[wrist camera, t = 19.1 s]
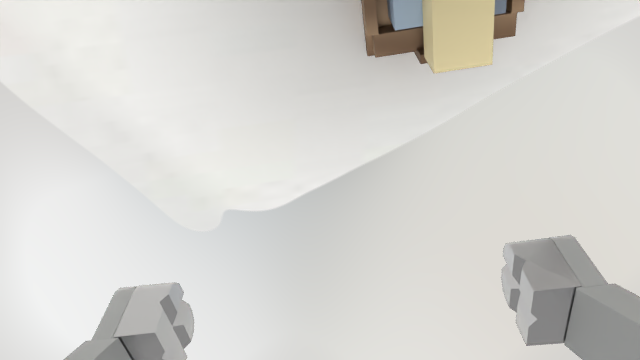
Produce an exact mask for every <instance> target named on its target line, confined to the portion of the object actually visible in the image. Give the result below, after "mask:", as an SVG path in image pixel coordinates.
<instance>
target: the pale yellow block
mask: <svg viewBox="0 0 640 360" xmlns="http://www.w3.org/2000/svg"><path fill="white" fill-rule="evenodd" d="M422 11H423V37H424V57H425V59H426V61H427V63H428V64H429V66H430V68H431V69H432V71H433V73H440V72H447V71H453V70H460V69H466V68H473V67H479V66H486V65H492V57H493V34H494V12H495V0H422Z"/></svg>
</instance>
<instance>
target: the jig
mask: <svg viewBox="0 0 640 360" xmlns="http://www.w3.org/2000/svg"><path fill="white" fill-rule="evenodd" d="M362 10H363V20H364V29H365V39H366V49H367V55H368V56H373V55H375V57H382V56H388V55H395V54H401V53H408V52H415V54H416V56H417V58H418V60H419V62H420V64H424V63H427V61H426V59H425V57H424V37H423V26H420V27H414V28H408V29H401V30H395V29H394V27H393V25H392V23H391V21H390V19H389V17H388V6H387V0H362ZM523 11H524V0H507V2H506V13H503V14H496V15H494V34H493V39H498V38H505V37H511V36H515V31H516V17H517V12H523Z"/></svg>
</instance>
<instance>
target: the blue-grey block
mask: <svg viewBox="0 0 640 360" xmlns="http://www.w3.org/2000/svg"><path fill="white" fill-rule="evenodd" d="M506 2H507V0H495V12H494V15H496V14H503V13H506ZM387 6H388V17H389V19H390V21H391V23H392V25H393V27H394V29H395V30H401V29H408V28H414V27H420V26H423V11H422V0H387Z"/></svg>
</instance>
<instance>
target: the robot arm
mask: <svg viewBox="0 0 640 360" xmlns="http://www.w3.org/2000/svg"><path fill="white" fill-rule="evenodd" d="M503 256H504V259H505V261H506V263H507V264H506V265H505V266H504V267H503V268H502V277H501V278H502V287H503V292H504V295H505V298H506V301H507V303H508V306H509V307H510V308H511V309H512V310H514V311H516V312H517V315H516V324H517V326H518V328H519V330H520V333H521V335H522V337H523V340H524V342H525V344H526V346H530V345H543V344H557V343H565V346H566V347H568V348H569V349H570V350H572V351H573V352H574V353H575V354H576V355H577V356H579V357H580V358H581V359H582V360H640V297H639V296H637V295H636V294H634V293H632V292H630V291H628V290H626V289H624V288H622V287H620V286H619V285H617V284H608V283H607V282H606V280H605V279H604V278H603V276H602V275H601V273H600V272H599V271H598V270H597V268H596V266H595V265H594V264H593V262H592V261H591V260H590V258H589V257H588V255H587V254H586V253H585V251H584V250H583V248H582V247H581V246H580V244H579V243H578V241H577V240H576V239H575V237H573V236H571V235H566V236H558V237H550V238H544V239H536V240H528V241H520V242H513V243H506V244H505V246H504V250H503ZM183 293H184V292H183V290H182V288H181V286H180V284H179V283H164V284H153V285H142V286H137V287H124V288H119V289H118V290H117V291H116V292H115V293H114V295H113V297H112V299H111V301H110V303H109V305H108V307H107V309H106V311H105V314H104V316H103V318H102V320H101V322H100V324H99V326H98V328H97V330H96V332H95V334H94V336H93V338H92V340H91V341H85V342H84V343H83V344H82V345H80V346H79V347H78V348H77V349H76V350H74V351H73V352H72V353H71V354H70V355H69V356H67V357H66V358H65V359H64V360H186V359H187V355H186V353H185V351H184V348H185V347H186V346H187V345H188V344H189V343H190V342H191V339H192V336H193V332H194V317H193V313H192V310H191V308H190V305H189V304H188V303H186V302H185V301H183V300H182V297H183Z"/></svg>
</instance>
